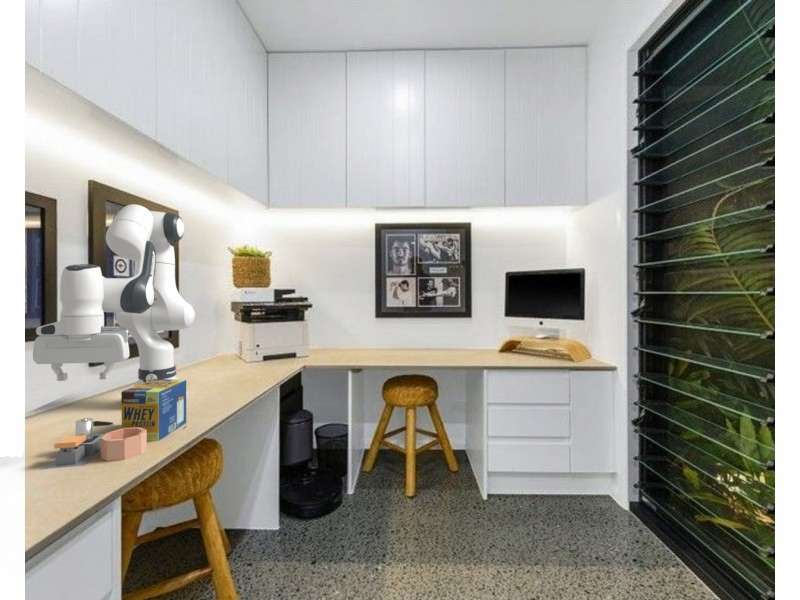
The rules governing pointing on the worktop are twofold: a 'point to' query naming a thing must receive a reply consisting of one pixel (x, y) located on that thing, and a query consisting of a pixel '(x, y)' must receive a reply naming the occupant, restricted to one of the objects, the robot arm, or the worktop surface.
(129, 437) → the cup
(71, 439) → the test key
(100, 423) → the phone
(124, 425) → the protein box
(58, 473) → the worktop surface
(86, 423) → the cell
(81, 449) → the gray square socket tray
